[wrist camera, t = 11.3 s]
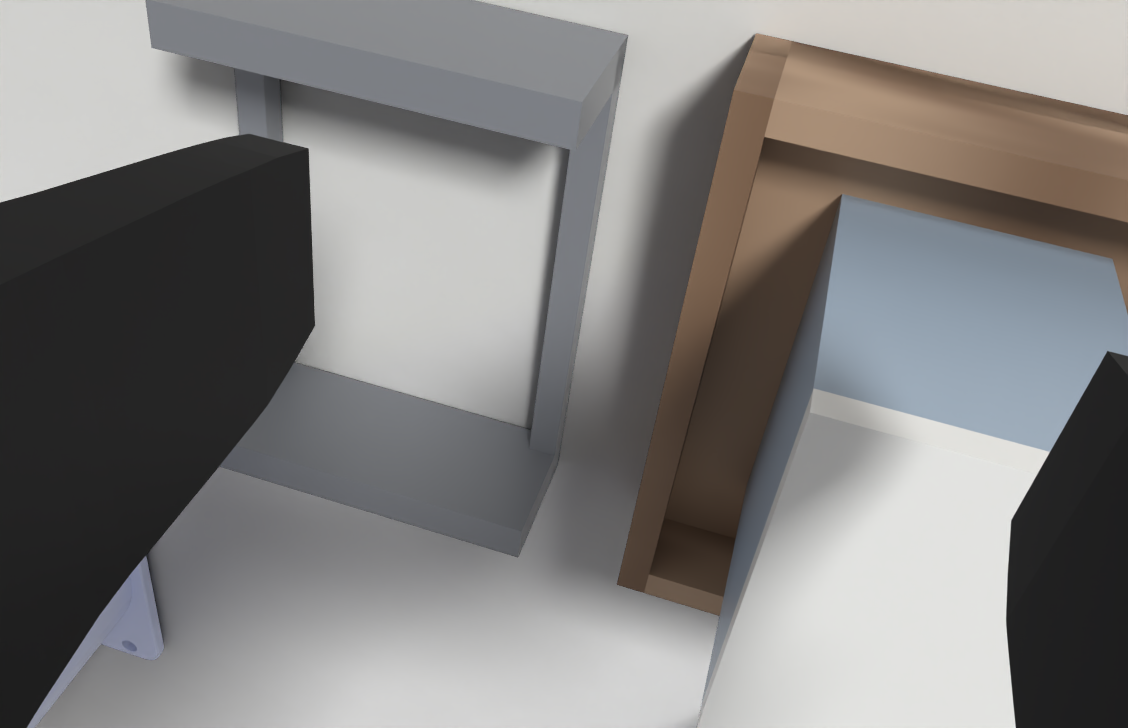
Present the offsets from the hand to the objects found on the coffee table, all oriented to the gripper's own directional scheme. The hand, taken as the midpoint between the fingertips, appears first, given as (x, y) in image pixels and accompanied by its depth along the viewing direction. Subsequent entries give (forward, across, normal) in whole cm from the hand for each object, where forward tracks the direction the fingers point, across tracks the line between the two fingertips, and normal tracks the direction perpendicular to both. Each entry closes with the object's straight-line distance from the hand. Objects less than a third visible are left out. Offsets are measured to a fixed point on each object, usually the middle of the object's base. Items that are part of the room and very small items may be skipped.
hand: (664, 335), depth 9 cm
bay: (+9, +6, +6) cm, 13 cm away
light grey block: (+9, -4, +6) cm, 11 cm away
